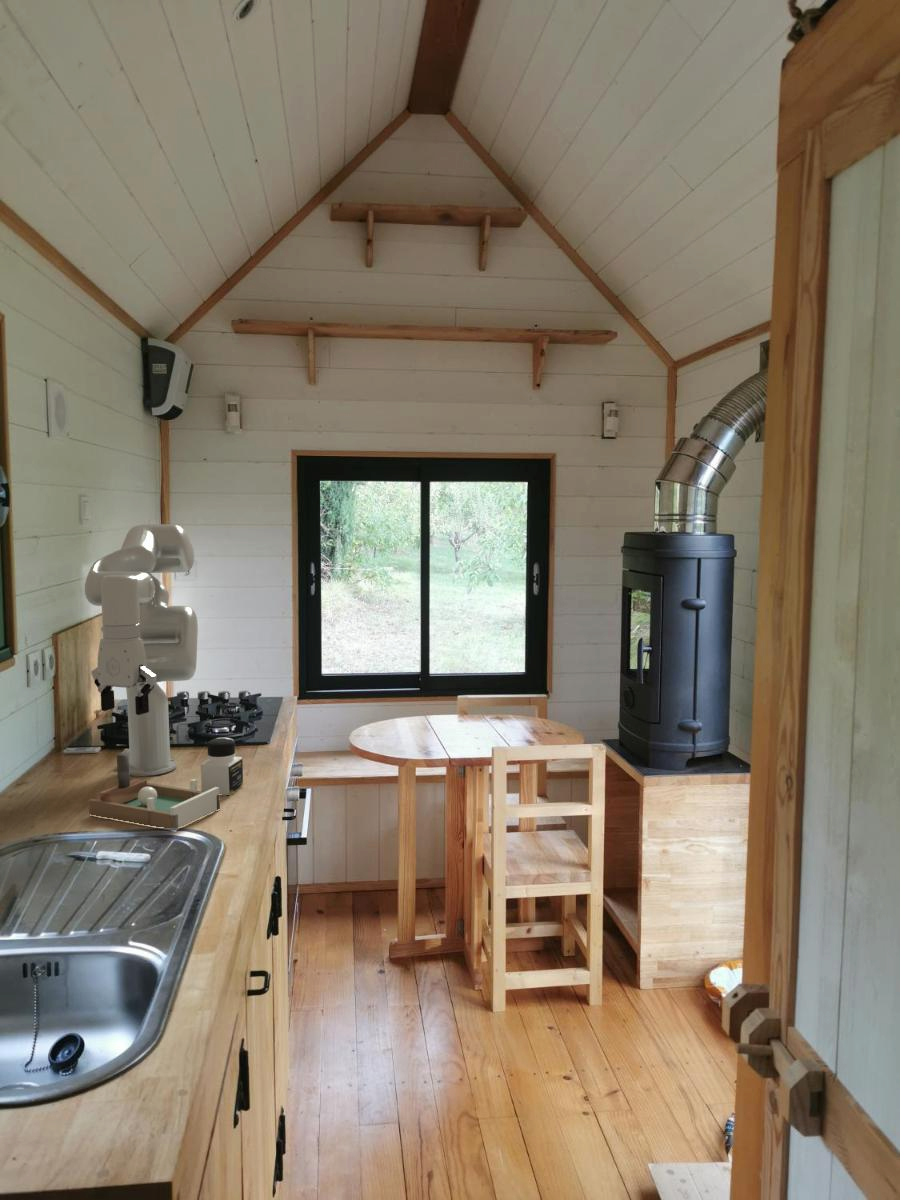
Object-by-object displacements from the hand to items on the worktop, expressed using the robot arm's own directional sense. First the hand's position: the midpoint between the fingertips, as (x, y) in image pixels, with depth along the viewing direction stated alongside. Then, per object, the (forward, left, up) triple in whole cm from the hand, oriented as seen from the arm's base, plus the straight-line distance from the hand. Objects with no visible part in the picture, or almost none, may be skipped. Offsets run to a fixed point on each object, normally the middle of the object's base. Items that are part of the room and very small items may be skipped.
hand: (125, 711), depth 187 cm
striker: (-1, 0, -20) cm, 20 cm away
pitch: (+7, 0, -21) cm, 23 cm away
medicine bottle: (+11, +18, -22) cm, 30 cm away
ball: (+5, 0, -18) cm, 19 cm away
